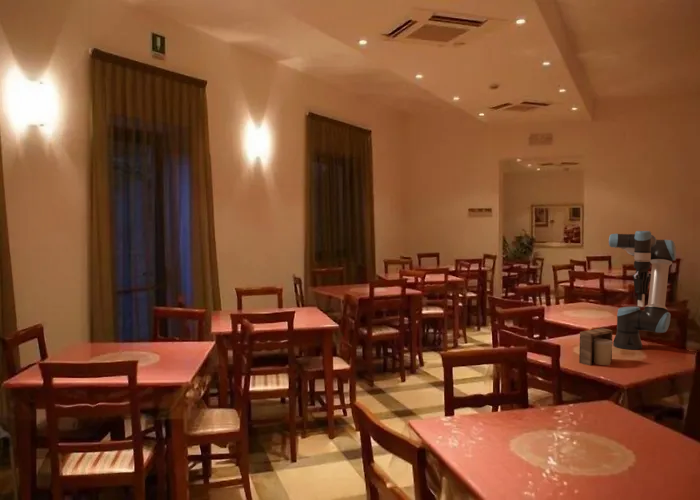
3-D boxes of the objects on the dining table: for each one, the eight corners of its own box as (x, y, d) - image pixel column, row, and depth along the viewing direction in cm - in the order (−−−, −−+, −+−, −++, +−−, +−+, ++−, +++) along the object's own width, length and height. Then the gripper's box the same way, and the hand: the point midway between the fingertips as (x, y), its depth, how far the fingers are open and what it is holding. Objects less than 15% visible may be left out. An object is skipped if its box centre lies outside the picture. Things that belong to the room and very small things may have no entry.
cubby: (600, 358, 297) (601, 328, 296) (611, 360, 292) (612, 330, 291) (579, 362, 288) (579, 331, 287) (590, 365, 282) (590, 334, 281)
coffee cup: (609, 361, 290) (610, 338, 290) (613, 366, 281) (614, 342, 281) (590, 360, 293) (591, 337, 292) (593, 364, 284) (594, 341, 283)
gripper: (642, 259, 292) (641, 304, 293) (627, 260, 285) (626, 306, 286) (656, 260, 285) (655, 306, 287) (641, 261, 278) (640, 308, 280)
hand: (640, 306), depth 286 cm, fingers closed
